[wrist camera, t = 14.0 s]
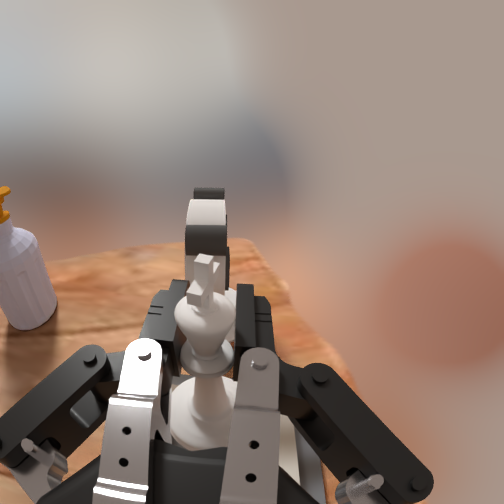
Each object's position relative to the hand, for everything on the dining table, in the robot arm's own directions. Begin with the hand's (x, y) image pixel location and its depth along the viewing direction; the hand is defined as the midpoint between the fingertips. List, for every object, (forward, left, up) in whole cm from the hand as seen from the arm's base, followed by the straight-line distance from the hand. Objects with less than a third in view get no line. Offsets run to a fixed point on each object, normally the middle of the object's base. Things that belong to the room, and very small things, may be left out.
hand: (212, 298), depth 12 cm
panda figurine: (+10, +13, -17) cm, 24 cm away
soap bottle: (-11, +29, -17) cm, 36 cm away
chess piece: (-2, -2, -6) cm, 7 cm away
